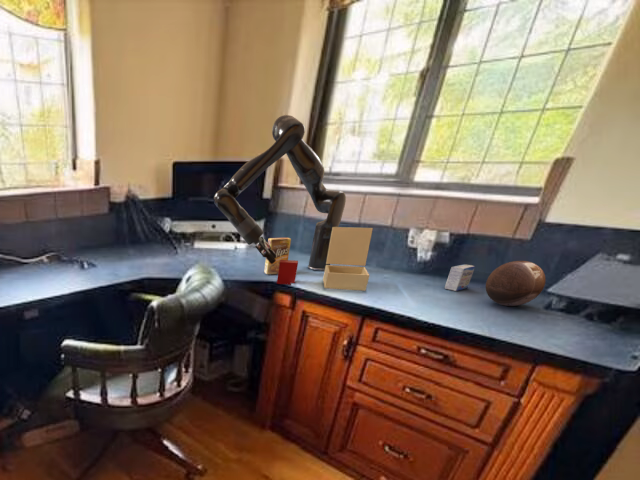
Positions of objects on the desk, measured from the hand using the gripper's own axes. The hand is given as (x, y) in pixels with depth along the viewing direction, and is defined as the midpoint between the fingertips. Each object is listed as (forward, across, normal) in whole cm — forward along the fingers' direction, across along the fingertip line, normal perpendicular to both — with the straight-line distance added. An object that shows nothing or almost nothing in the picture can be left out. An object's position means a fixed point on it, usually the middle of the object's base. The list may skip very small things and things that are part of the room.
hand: (274, 260), depth 174 cm
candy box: (+7, +15, +6) cm, 18 cm away
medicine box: (+55, +8, -42) cm, 70 cm away
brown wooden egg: (+62, -10, -49) cm, 80 cm away
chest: (+26, 0, -13) cm, 29 cm away
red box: (+11, 0, +2) cm, 11 cm away
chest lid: (+16, +8, -23) cm, 30 cm away
